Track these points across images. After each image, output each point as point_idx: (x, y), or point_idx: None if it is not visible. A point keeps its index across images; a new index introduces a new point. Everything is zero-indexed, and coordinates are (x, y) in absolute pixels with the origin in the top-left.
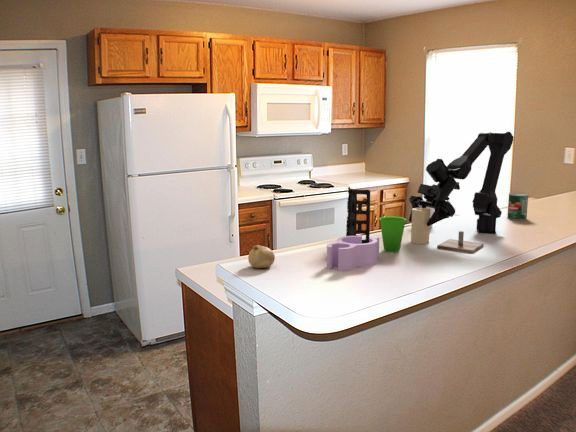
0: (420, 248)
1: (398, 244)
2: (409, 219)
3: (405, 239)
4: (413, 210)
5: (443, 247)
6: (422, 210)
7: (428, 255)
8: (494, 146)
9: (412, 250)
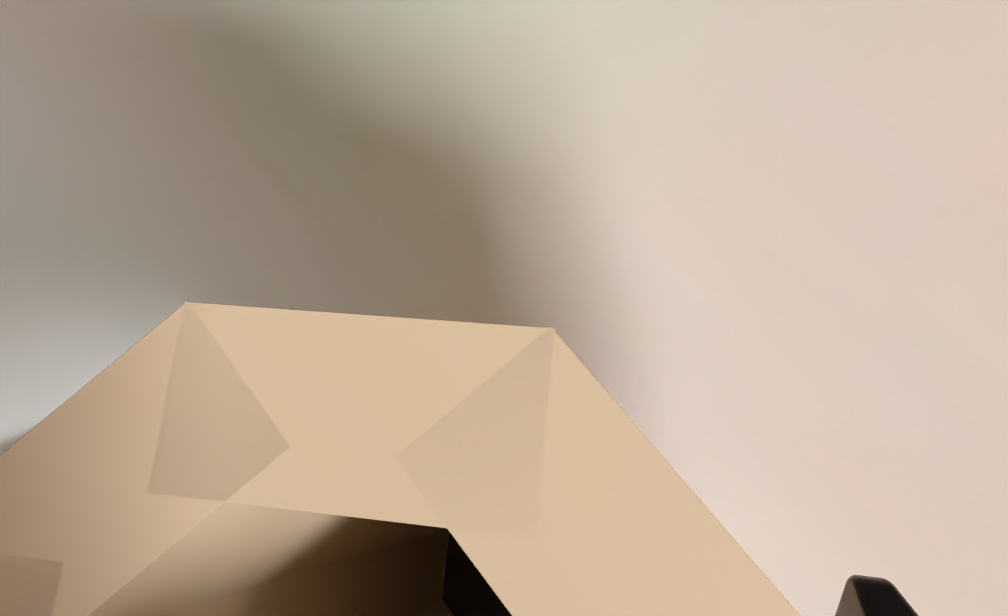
0: (259, 261)
1: None
2: (866, 589)
3: (806, 513)
4: (451, 326)
5: None
6: (13, 527)
7: (7, 99)
8: None
9: (260, 104)
